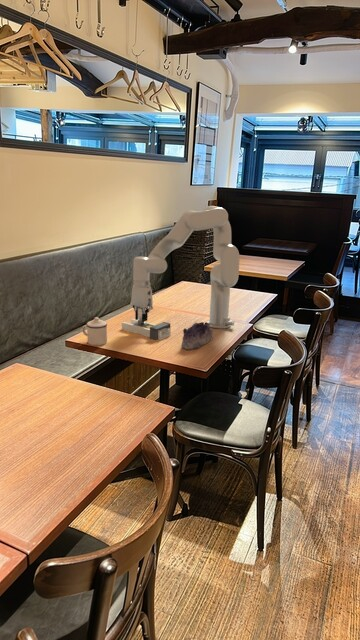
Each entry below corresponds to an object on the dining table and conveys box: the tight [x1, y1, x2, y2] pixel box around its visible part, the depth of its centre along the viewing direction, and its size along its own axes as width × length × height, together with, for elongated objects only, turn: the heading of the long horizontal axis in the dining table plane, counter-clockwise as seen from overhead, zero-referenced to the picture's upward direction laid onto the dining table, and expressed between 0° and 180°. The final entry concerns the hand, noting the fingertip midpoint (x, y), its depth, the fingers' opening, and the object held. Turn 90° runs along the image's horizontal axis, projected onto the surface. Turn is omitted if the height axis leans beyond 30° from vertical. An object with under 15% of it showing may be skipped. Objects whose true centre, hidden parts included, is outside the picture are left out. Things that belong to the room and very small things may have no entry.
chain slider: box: [134, 307, 152, 329], centre depth 217 cm, size 10×5×10 cm, turn 54°
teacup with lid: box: [81, 316, 108, 346], centre depth 203 cm, size 12×9×12 cm
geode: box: [180, 322, 214, 351], centre depth 205 cm, size 20×12×10 cm, turn 154°
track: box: [121, 318, 171, 341], centre depth 218 cm, size 24×10×6 cm, turn 54°
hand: (141, 319), depth 219 cm, fingers closed on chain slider, 3 cm apart
